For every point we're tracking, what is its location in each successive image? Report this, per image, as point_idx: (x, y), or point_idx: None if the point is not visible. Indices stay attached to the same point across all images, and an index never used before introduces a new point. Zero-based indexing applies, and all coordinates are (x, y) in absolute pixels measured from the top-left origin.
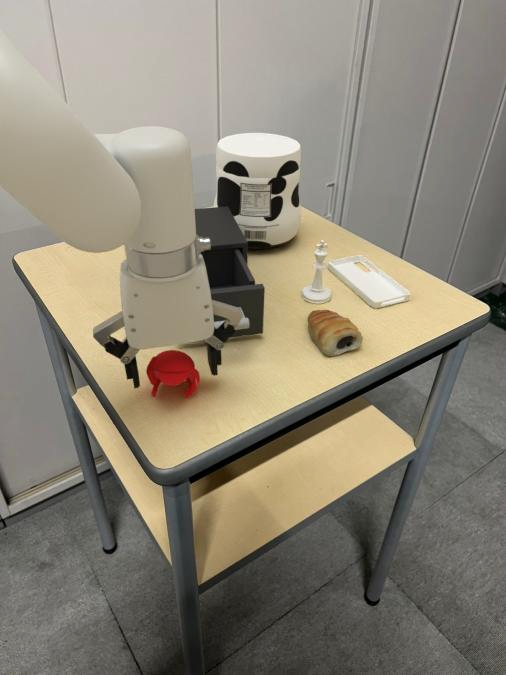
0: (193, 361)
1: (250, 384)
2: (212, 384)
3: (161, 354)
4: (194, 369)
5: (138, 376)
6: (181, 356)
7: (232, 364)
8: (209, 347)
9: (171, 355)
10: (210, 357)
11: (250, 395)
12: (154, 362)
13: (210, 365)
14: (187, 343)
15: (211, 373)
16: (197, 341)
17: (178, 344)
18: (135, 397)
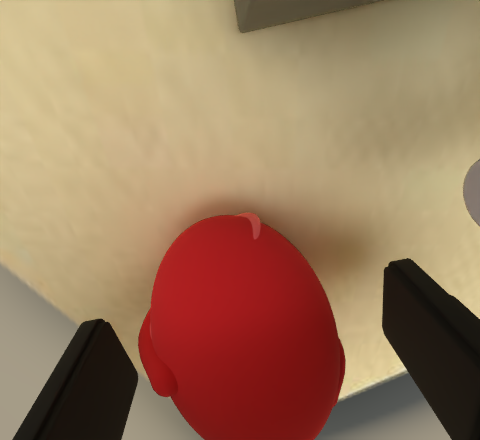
0: (338, 342)
1: (464, 246)
2: (353, 248)
3: (198, 387)
4: (339, 391)
5: (122, 415)
6: (303, 422)
7: (444, 150)
8: (472, 435)
9: (255, 430)
10: (432, 395)
11: (447, 285)
12: (171, 397)
13: (399, 338)
14: (287, 22)
15: (383, 325)
16: (343, 9)
17: (239, 30)
18: (127, 299)
